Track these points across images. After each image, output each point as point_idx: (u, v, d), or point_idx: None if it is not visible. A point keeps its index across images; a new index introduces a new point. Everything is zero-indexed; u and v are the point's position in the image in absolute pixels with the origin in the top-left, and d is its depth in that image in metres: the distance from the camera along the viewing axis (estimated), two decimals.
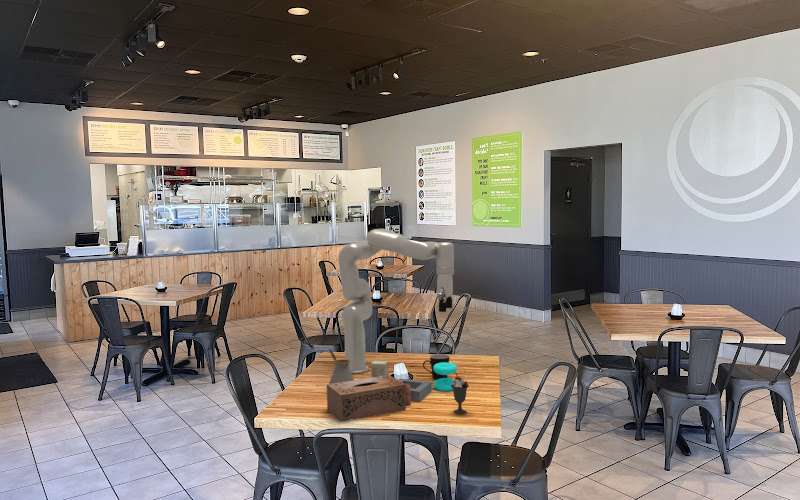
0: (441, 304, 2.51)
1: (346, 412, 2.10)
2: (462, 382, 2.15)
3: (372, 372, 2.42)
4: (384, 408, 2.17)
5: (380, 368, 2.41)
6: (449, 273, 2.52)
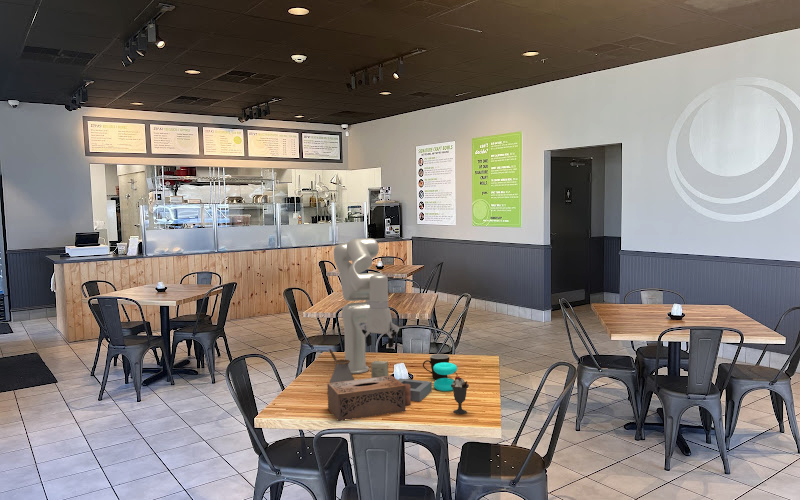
0: (392, 339, 2.40)
1: (343, 411, 2.11)
2: (462, 382, 2.15)
3: (371, 372, 2.42)
4: (383, 409, 2.16)
5: (380, 368, 2.41)
6: None
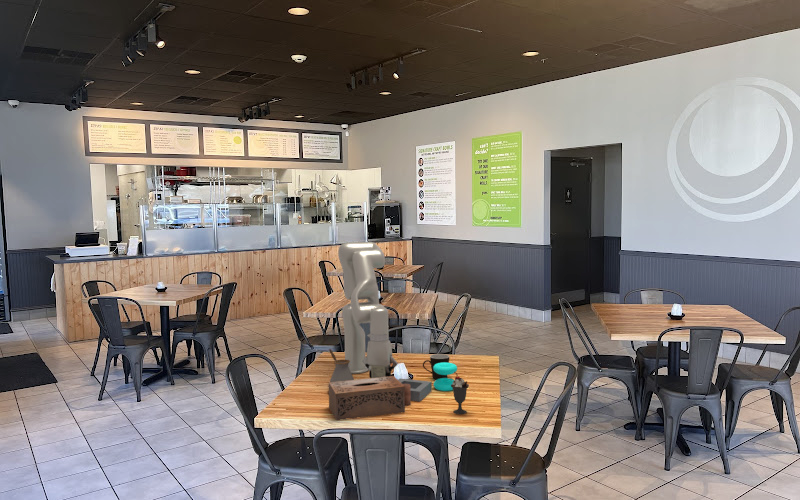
0: (389, 373, 2.42)
1: (341, 411, 2.11)
2: (462, 382, 2.15)
3: (371, 372, 2.42)
4: (382, 409, 2.16)
5: (380, 368, 2.41)
6: None
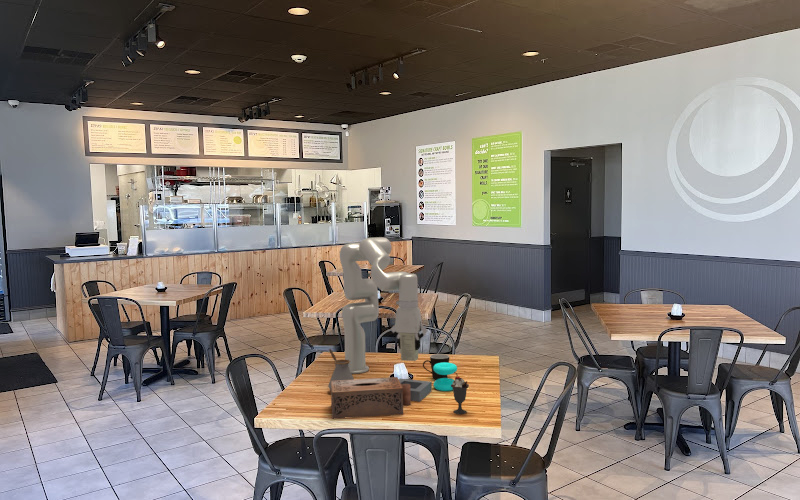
0: (419, 341, 2.36)
1: (337, 410, 2.13)
2: (462, 382, 2.15)
3: (400, 340, 2.36)
4: (379, 410, 2.15)
5: (410, 335, 2.35)
6: None
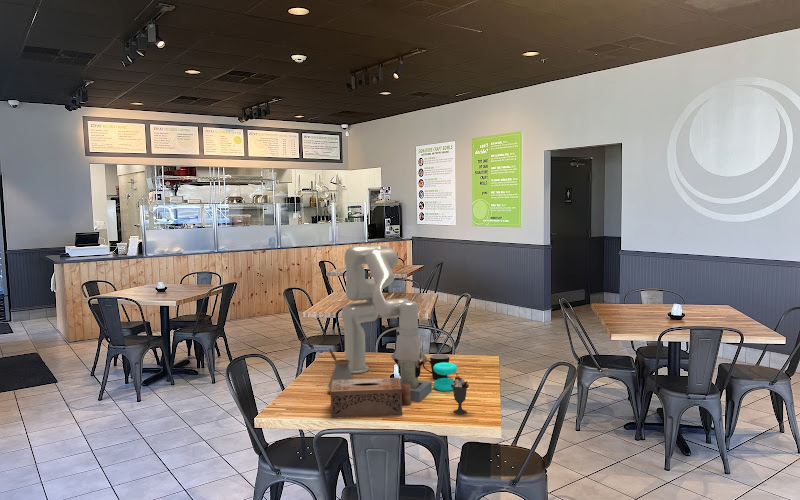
0: (419, 368, 2.37)
1: (336, 409, 2.14)
2: (462, 382, 2.15)
3: (401, 367, 2.37)
4: (378, 411, 2.15)
5: (410, 363, 2.36)
6: None
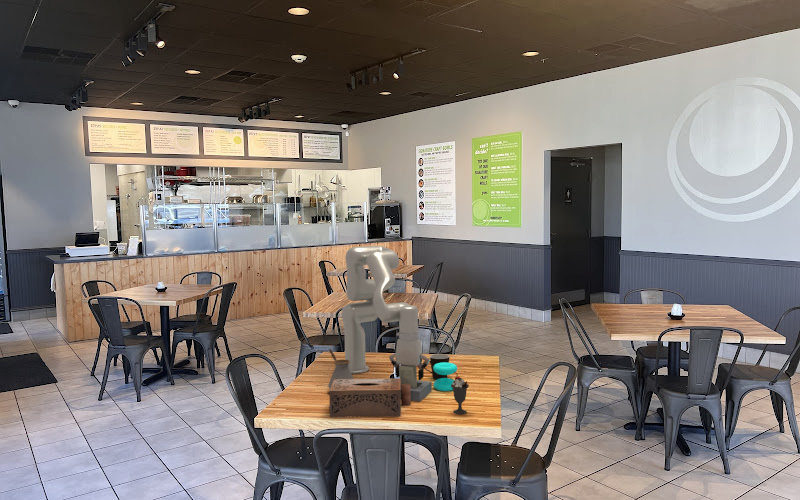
0: (422, 371, 2.36)
1: (335, 408, 2.14)
2: (462, 382, 2.15)
3: (400, 375, 2.38)
4: (376, 411, 2.14)
5: (409, 370, 2.36)
6: None
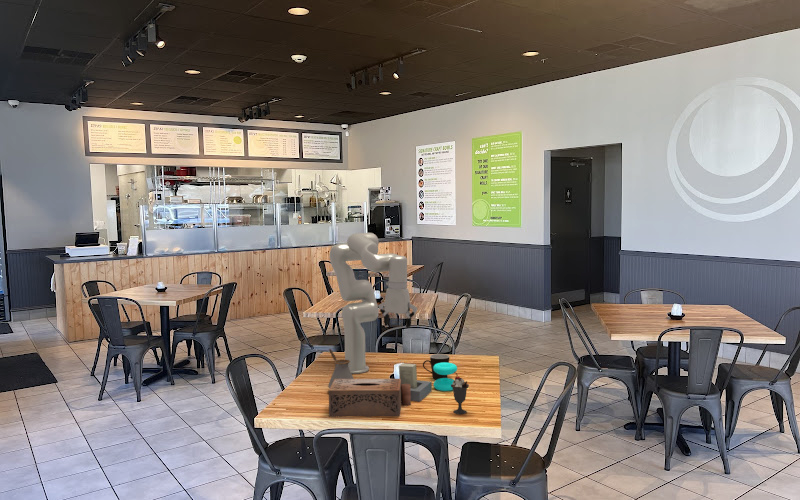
0: (410, 319, 2.44)
1: (334, 408, 2.15)
2: (462, 382, 2.15)
3: (400, 375, 2.38)
4: (375, 411, 2.14)
5: (409, 370, 2.36)
6: None
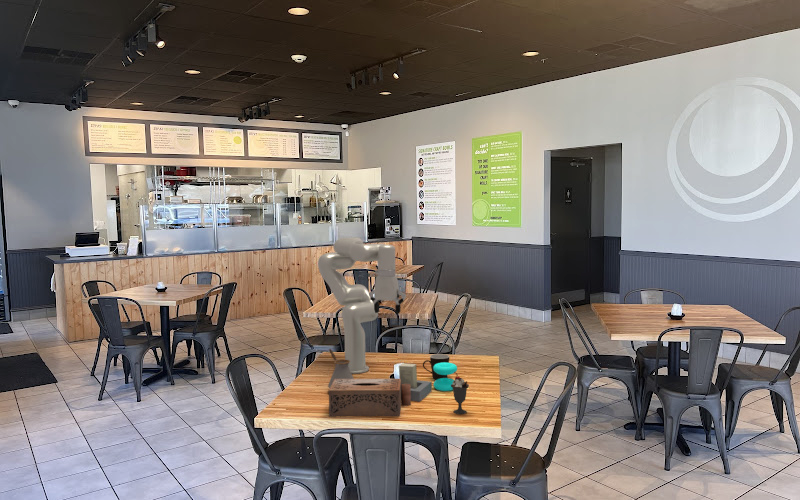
0: (399, 306, 2.52)
1: (334, 408, 2.15)
2: (462, 382, 2.15)
3: (400, 375, 2.38)
4: (375, 411, 2.14)
5: (409, 370, 2.36)
6: None
